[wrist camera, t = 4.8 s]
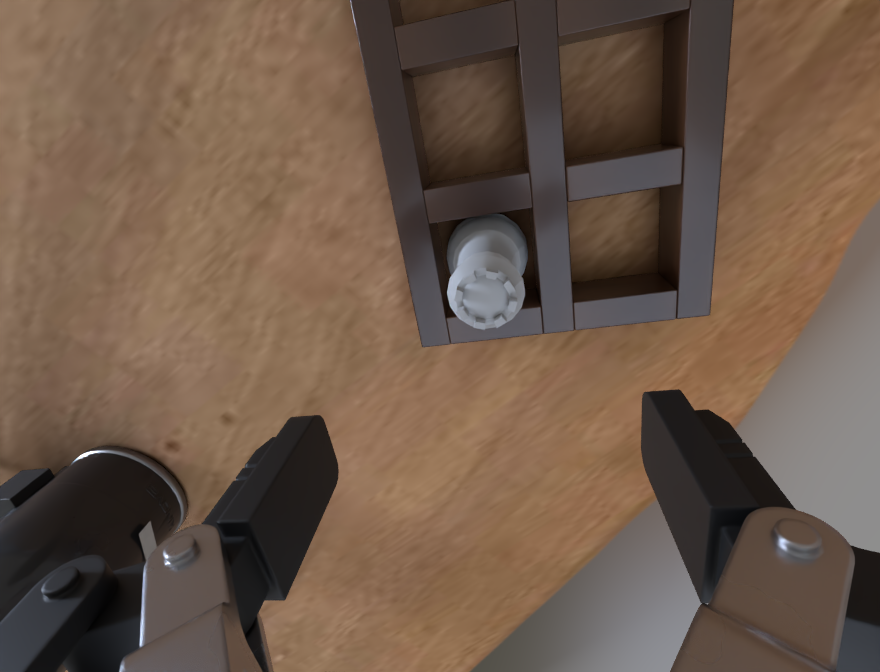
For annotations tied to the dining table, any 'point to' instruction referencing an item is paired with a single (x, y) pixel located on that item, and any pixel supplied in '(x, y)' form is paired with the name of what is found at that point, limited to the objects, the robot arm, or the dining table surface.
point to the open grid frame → (555, 155)
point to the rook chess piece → (486, 270)
